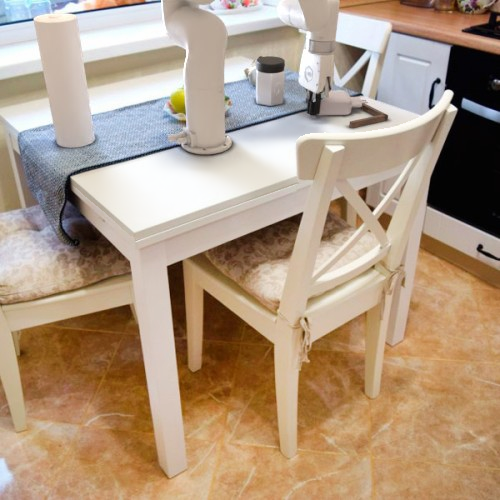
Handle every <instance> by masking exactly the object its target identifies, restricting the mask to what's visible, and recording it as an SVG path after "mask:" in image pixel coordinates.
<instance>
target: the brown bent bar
mask: <svg viewBox="0 0 500 500" xmlns="http://www.w3.org/2000/svg"><path fill="white" fill-rule="evenodd" d="M349 96H350V97H352V96H351V95H349ZM308 100H309V99H307V96H306V97H305V103H306V104H308ZM357 109H360V110H362V111H364V112H365V113H368V114H369V115H372V116H368V117H364V118H359V119H354V120H349V128H351V129H354V128H358V127H363V126H367V125H372V124H378V123H381V122H382V123H383V122H386V121H388V120H389V119H388V118H389V114H387V113H385V112H383V111H381V110H379V109H377V108H375V107H373V106H371V105H368V103H362V107H357Z"/></svg>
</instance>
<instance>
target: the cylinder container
mask: <svg viewBox="0 0 500 500" xmlns="http://www.w3.org/2000/svg"><path fill="white" fill-rule="evenodd" d="M33 22H34V23H33V24H34V29H35V34H36V40H37V45H38V50H39V56H40V61H41V67H42V73H43V77H44V82H45V87H46V93H47V98H48V103H49V110H50V114H51V115H50V116H51V120H52V124H53V130H54V134H55V141H56V144H57V145H58V146H60V147H61V148H70V149H71V148H72V149H73V148H81V147H86V146H88V145H90V144H92V143H94V142H95V140H96V135H95V130H94V129H95V128H94V122H93V117H92V111H91V109H92V108H91V103H90V97H89V88H88V83H87V76H86V75H87V74H86V69H85V68H86V67H85V63H84V55H83V48H82V42H81V34H80V28H79V23H78V16H77V15H76V14H73V13H67V12H54V13H53V12H52V13H45V14H44V13H43V14H39V15H37V16H35V17H33Z"/></svg>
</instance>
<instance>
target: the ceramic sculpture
mask: <svg viewBox="0 0 500 500" xmlns="http://www.w3.org/2000/svg"><path fill="white" fill-rule="evenodd" d="M260 57H263V56H261V55H260V56H258V57H257V58H255V59H254V60H253V61H252V62H251V64H250V66H249V68H245V69H244V70H243V72H244V75H245V76H246V77H248V81H249V83H250V84H251V86H252V87H255V88H256V60H257V59H258V58H260Z"/></svg>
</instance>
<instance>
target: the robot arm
mask: <svg viewBox="0 0 500 500" xmlns="http://www.w3.org/2000/svg"><path fill="white" fill-rule="evenodd" d="M160 1H161V13H162V21H163V28H164V33H165V34H166V36H167V38H168V40H169V41H170V42H171V43H173V44H174V45H176V46H177V47H179V48H182V49H184V50H185V51H186V57H185V61H184V66H183V84H184V85H183V89H184V91H183V92H184V107H185V126H182V131H179V132H178V133H171V134H168V135H167V140H168V142H169V143H170V144H172V143H177V145H180V146H181V148H182V149H183V150H185V151H186V152H188V153H191V154H196V155H215V154H220V153H223V152H225V151H227V150H228V149H230V148H231V146H232V143H233V142H232V138H231V136H230V135H229V134H226V95H225V94H226V93H225V92H226V90H225V88H226V87H225V63H226V62H225V61H226V53H227V47H228V40H229V36H228V30H227V27H226V25H225V23H224V21H223V20H222V19H221V18H220V17H219V16H218V15H216V14H215V13H213V12H211V11H209V10H205V9H203V8H200V6H207V5H210V4H212V3H214V2H215V1H216V0H160ZM340 3H341V1H340V0H280V1H279V3H278V5H277V10H276V11H277V15H278V18H279V20H280V21H281V22H282V23H284V24H285V25H286V26H290V27H292V28H295V29H298V30H302V31H305V32H306V37H305V47H304V49H303V52H302V55H301V60H300V65H299V73H298V84H299V85H300V86H301V87H302V89H304V90H305V91H306V97H307V99H309V100H308V103H306V104H307V105H306V114H307V115H309V116H311V117H312V116H317V115H319V113H320V105H321V101H322V100H323V98H328V97H329V92H330V91H331V90H332V89H333V85H334V79H335V78H334V77H335V54H334V53H335V49H336V47H335V46H336V39H337V29H338V22H339V14H340V5H341V4H340Z"/></svg>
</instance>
